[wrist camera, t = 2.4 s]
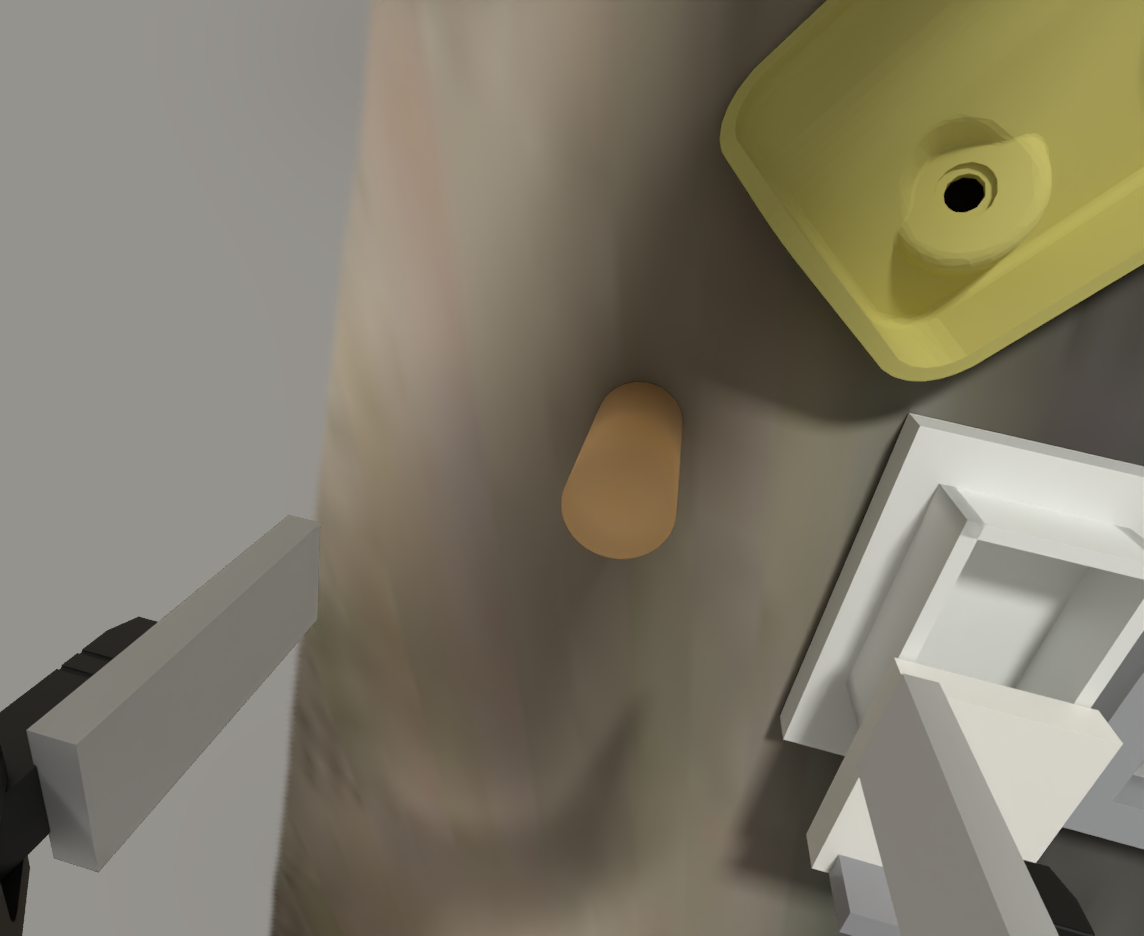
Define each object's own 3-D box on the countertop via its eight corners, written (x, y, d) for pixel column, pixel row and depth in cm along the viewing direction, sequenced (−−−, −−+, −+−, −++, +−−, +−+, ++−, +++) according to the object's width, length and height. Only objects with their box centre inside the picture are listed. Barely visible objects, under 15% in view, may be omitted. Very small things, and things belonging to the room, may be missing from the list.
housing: (908, 412, 26) (1010, 528, 18) (1465, 539, 24) (1877, 737, 16) (779, 715, 33) (807, 907, 24) (1209, 832, 31) (1402, 1081, 23)
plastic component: (909, 404, 24) (757, 213, 18) (835, 294, 29) (699, 119, 24) (1757, -105, 15) (1958, -778, 9) (1432, -134, 20) (1439, -578, 15)
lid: (893, 657, 25) (926, 737, 22) (1098, 710, 25) (1166, 802, 21) (806, 834, 29) (820, 926, 26) (978, 883, 29) (1018, 984, 25)
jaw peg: (606, 372, 28) (572, 442, 20) (692, 393, 27) (689, 471, 20) (589, 452, 29) (552, 543, 22) (671, 471, 29) (661, 571, 22)
